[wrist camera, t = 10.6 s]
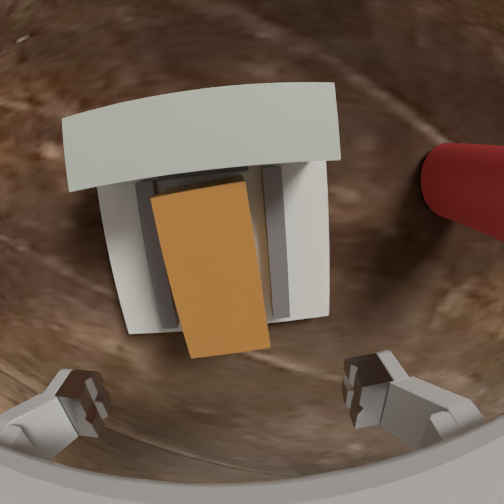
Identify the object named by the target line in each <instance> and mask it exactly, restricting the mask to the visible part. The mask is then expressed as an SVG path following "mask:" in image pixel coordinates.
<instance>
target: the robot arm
mask: <svg viewBox="0 0 504 504" xmlns="http://www.w3.org/2000/svg"><path fill="white" fill-rule="evenodd" d="M344 371H345V373H346V376H345V377H344V378H343V379H342V394H343V399H344V402H345V405H346V406H347V407H349V408H350V414H349V415H350V418H351V420H352V423H353V425H354V428H355V429H357V428H362V427H367V426H372V425H377V424H380V426H382V427H383V428H385V429H386V430H388V431H389V432H390V433H392V434H393V435H395V436H396V437H397V438H399V439H400V440H402V441H403V442H405V443H406V444H408V445H409V446H410V447H412V448H413V449H415V450H414V451H411V452H408V453H405V454H402V455H398V456H395V457H392V458H388V459H384V460H381V461H377V462H373V463H369V464H365V465H361V466H356V467H352V468H347V469H342V470H337V471H332V472H326V473H320V474H314V475H307V476H300V477H292V478H284V479H274V480H262V481H246V482H179V481H164V480H152V479H142V478H134V477H126V476H119V475H112V474H106V473H101V472H95V471H90V470H85V469H80V468H76V467H71V466H67V465H63V464H59V463H55V462H52V461H50V460H51V459H52V458H53V457H54V456H56V455H57V454H58V453H59V452H60V451H62V450H63V449H64V448H65V447H66V446H68V445H69V444H70V443H71V442H72V441H74V440H75V439H76V438H77V437H78V435H81V436H89V437H97V438H99V436H100V434H101V432H102V429H103V427H104V422H103V419H105V418H106V417H108V416H109V413H110V411H111V398H110V395H109V392H108V391H107V390H106V389H105V388H104V387H103V386H102V385H103V382H104V380H103V378H102V376H101V374H100V373H99V372H97V371H85V370H73V369H61V370H60V371H59V372H58V374H57V375H56V376H55V378H54V379H53V380H52V382H51V383H50V385H49V386H48V387H47V389H46V390H45V391H44V393H43V394H38V395H36V396H34V397H33V398H31V399H29V400H27V401H25V402H23V403H21V404H19V405H17V406H15V407H13V408H11V409H10V410H8V411H6V412H4V413H2V414H0V504H504V413H503V414H501V415H499V416H497V417H495V418H493V419H491V420H489V421H486V419H485V418H484V417H483V415H482V414H481V413H480V412H479V410H478V409H477V408H476V406H475V405H474V404H473V403H472V401H471V400H469V399H467V398H464V397H462V396H459V395H457V394H454V393H452V392H449V391H447V390H444V389H442V388H439V387H437V386H435V385H432V384H430V383H427V382H425V381H422V380H420V379H418V378H415V377H409V376H408V375H407V374H406V372H405V371H404V369H403V368H402V366H401V365H400V364H399V362H398V361H397V359H396V358H395V357H394V355H393V354H392V353H391V351H389V350H385V351H381V352H376V353H374V354H369V355H363V356H357V357H352V358H346V359H345V361H344Z"/></svg>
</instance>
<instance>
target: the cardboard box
mask: <svg viewBox="0 0 504 504" xmlns="http://www.w3.org/2000/svg"><path fill="white" fill-rule="evenodd" d="M150 199H151V204H152V209H153V213H154V218H155V223H156V227H157V232H158V236H159V241H160V245H161V249H162V254H163V258H164V262H165V266H166V270H167V274H168V278H169V282H170V286H171V290H172V294H173V297H174V301H175V305H176V308H177V312H178V316H179V319H180V323H181V326H182V330H183V333H184V337H185V340H186V343H187V347H188V350H189V353H190V357H191V359H192V358H200V357H208V356H216V355H224V354H231V353H238V352H245V351H251V350H258V349H264V348H270V347H271V346H270V339H269V332H268V326H267V319H266V313H265V306H264V299H263V293H262V286H261V280H260V273H259V267H258V260H257V253H256V247H255V240H254V234H253V227H252V221H251V214H250V208H249V201H248V195H247V189H246V182H245V180H244V178H243V176H242V175H239V176H233V177H227V178H221V179H215V180H210V181H204V182H198V183H193V184H188V185H182V186H177V187H172V188H168V189H166V190H164V191H163V192H161V193H159V194H157V195H156V196H154V197H152V198H150Z"/></svg>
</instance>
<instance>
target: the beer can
mask: <svg viewBox="0 0 504 504" xmlns="http://www.w3.org/2000/svg"><path fill="white" fill-rule="evenodd" d="M420 179H421V190H422V193H423V197H424V200H425V201H426V203H427V205H428V206H429V208H430V209H431V210H432V211H433V212H434V213H436V214H437V215H438V216H441V217H444V218H446V219H449V220H451V221H454V222H457V223H459V224H462V225H464V226H467V227H469V228H472V229H474V230H477V231H479V232H481V233H484V234H486V235H489V236H491V237H493V238H496V239H498V240H500V241H502V242H504V146H495V145H480V144H461V143H442V144H440V145H438V146H436V147H434V148H433V149H432V151H431V152H430V153H429V154H428V155H427V157H426V159H425V161H424V163H423V165H422V171H421V176H420Z"/></svg>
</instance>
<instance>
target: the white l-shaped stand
mask: <svg viewBox="0 0 504 504" xmlns="http://www.w3.org/2000/svg"><path fill="white" fill-rule="evenodd" d="M62 130H63V143H64V153H65V163H66V171H67V179H68V186H69V192H72V191H77V190H82V189H87V188H92V187H97V191H98V198H99V204H100V211H101V216H102V222H103V228H104V233H105V238H106V243H107V248H108V253H109V258H110V262H111V267H112V271H113V276H114V280H115V284H116V288H117V292H118V296H119V300H120V304H121V308H122V311H123V315H124V319H125V322H126V326H127V329H128V332H129V334H143V333H162V332H179V331H183V330H182V326H181V323H180V319H179V316H178V312H177V308H176V305H175V301H174V297H173V294H172V290H171V286H170V282H169V278H168V274H167V270H166V266H165V262H164V258H163V254H162V249H161V245H160V241H159V236H158V232H157V227H156V223H155V218H154V213H153V209H152V204H151V199H150V198H152V197H154V196H156V195H157V194H159V193H161V192H163V191H164V190H166V189H168V188H172V187H177V186H182V185H188V184H193V183H198V182H204V181H210V180H215V179H221V178H227V177H233V176H239V175H242V176H243V178H244V180H245V182H246V189H247V195H248V201H249V208H250V214H251V221H252V227H253V234H254V240H255V247H256V253H257V260H258V267H259V273H260V280H261V286H262V293H263V299H264V306H265V313H266V319H267V323H276V322H284V321H292V320H300V319H307V318H315V317H322V316H329V216H328V190H327V171H326V161H330V160H341V154H340V140H339V127H338V115H337V105H336V95H335V86H334V83H328V82H288V83H262V84H246V85H234V86H223V87H213V88H205V89H197V90H189V91H182V92H176V93H169V94H163V95H158V96H152V97H147V98H142V99H137V100H132V101H127V102H123V103H118V104H114V105H110V106H106V107H102V108H98V109H94V110H90V111H86V112H83V113H79V114H76V115H72V116H69V117H65V118H62Z"/></svg>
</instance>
